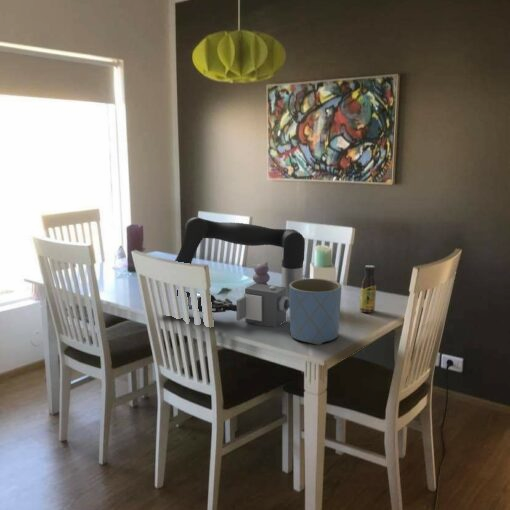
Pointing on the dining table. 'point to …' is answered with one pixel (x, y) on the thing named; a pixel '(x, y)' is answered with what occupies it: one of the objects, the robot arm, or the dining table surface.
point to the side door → (249, 307)
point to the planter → (314, 310)
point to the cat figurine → (261, 273)
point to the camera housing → (270, 303)
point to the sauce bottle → (368, 290)
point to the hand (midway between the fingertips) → (238, 308)
